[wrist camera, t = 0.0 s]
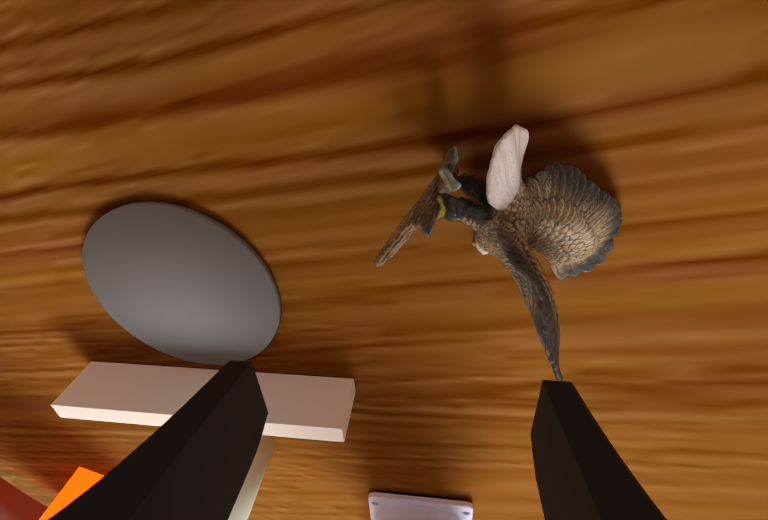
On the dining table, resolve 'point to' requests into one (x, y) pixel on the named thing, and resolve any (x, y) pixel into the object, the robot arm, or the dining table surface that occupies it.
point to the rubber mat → (182, 282)
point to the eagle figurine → (522, 224)
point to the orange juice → (72, 490)
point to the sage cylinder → (253, 480)
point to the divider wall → (178, 384)
